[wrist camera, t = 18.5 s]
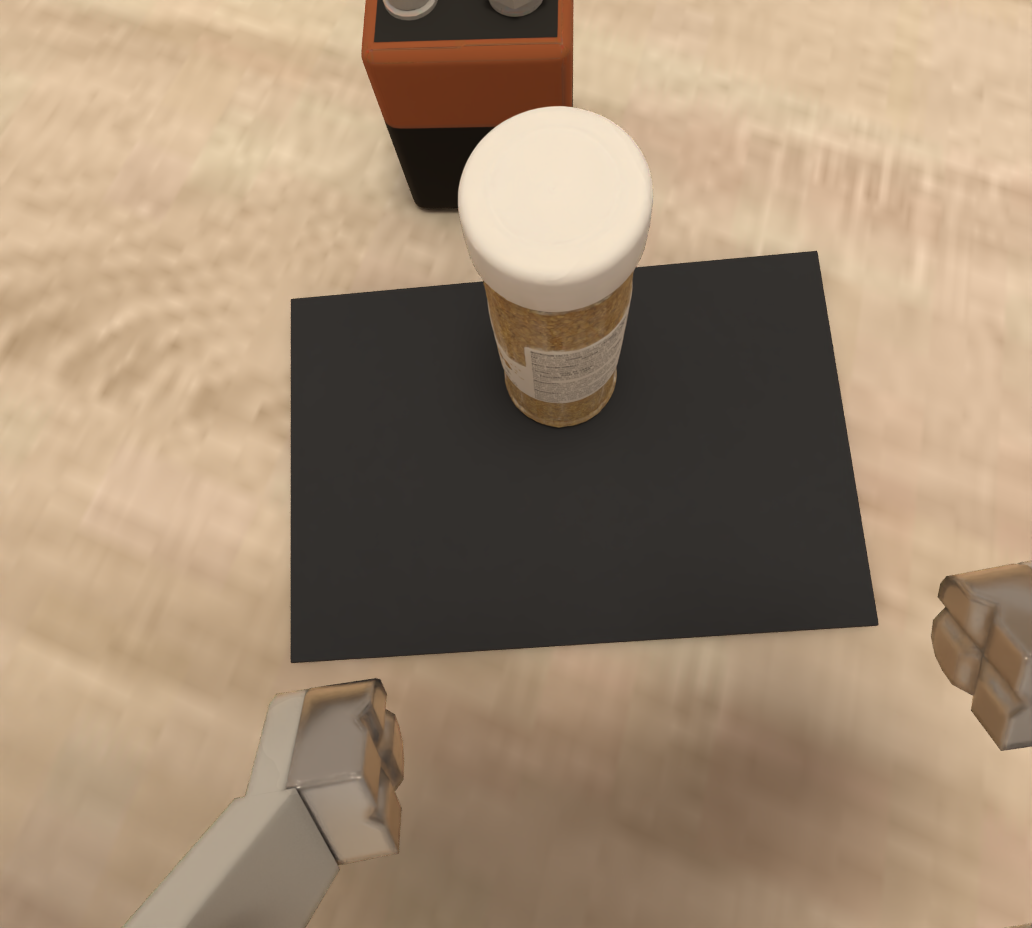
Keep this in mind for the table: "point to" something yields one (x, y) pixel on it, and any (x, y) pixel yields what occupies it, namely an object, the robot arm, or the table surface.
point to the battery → (461, 77)
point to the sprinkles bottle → (557, 252)
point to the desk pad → (572, 474)
